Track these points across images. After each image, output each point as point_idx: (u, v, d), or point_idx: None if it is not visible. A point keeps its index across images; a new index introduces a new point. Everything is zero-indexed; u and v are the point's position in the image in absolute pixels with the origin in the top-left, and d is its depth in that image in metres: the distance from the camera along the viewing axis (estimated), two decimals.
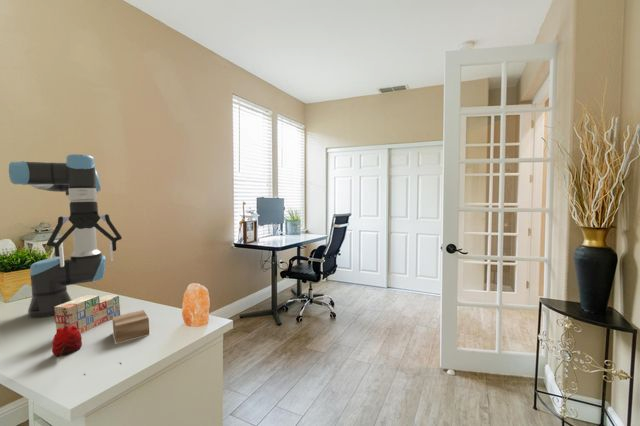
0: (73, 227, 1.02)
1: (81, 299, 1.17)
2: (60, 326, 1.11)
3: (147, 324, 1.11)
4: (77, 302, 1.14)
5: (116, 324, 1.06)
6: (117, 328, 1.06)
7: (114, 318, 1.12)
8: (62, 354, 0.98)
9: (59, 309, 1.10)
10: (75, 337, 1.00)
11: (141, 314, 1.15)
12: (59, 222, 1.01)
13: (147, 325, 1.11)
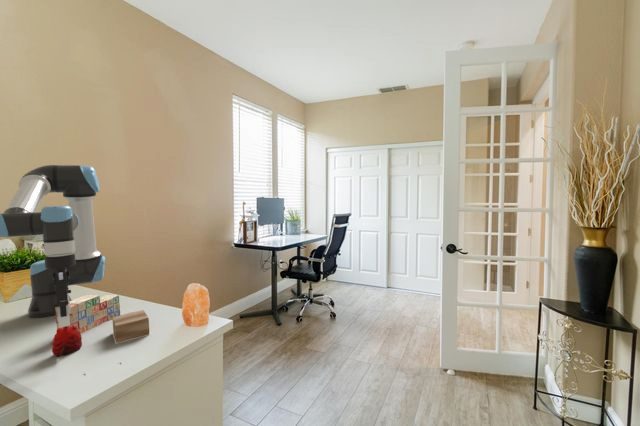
0: None
1: (82, 299, 1.17)
2: None
3: (147, 324, 1.11)
4: (78, 302, 1.14)
5: (116, 324, 1.06)
6: (117, 328, 1.06)
7: (114, 318, 1.12)
8: (62, 354, 0.98)
9: None
10: (75, 337, 1.00)
11: (141, 314, 1.15)
12: None
13: (147, 325, 1.11)
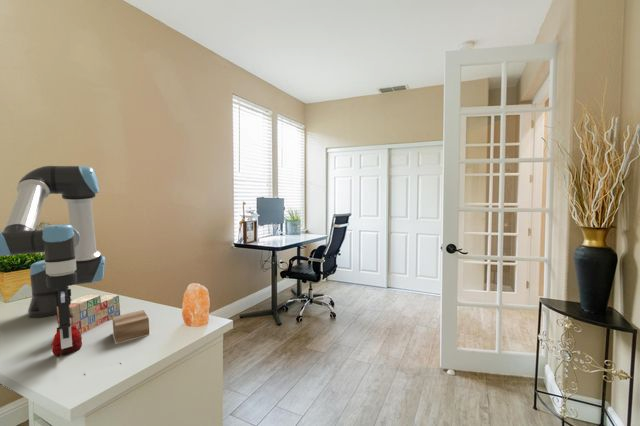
0: None
1: (83, 299, 1.18)
2: None
3: (147, 324, 1.11)
4: (79, 302, 1.14)
5: (116, 324, 1.06)
6: (117, 328, 1.06)
7: (114, 318, 1.12)
8: (62, 354, 0.98)
9: None
10: (75, 336, 1.00)
11: (141, 314, 1.15)
12: None
13: (147, 325, 1.11)
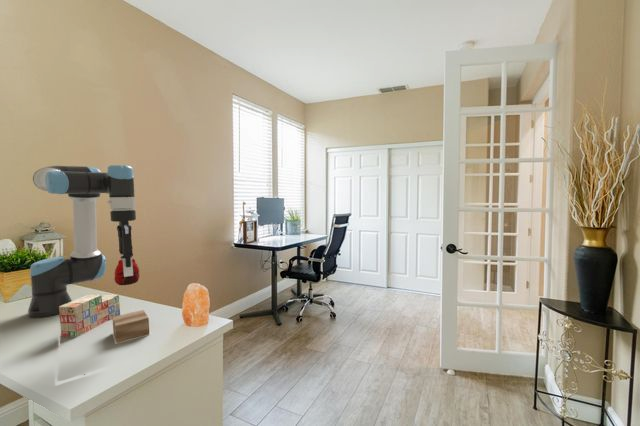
0: (118, 235, 1.11)
1: (84, 299, 1.18)
2: (65, 326, 1.11)
3: (147, 324, 1.11)
4: (82, 301, 1.15)
5: (116, 324, 1.06)
6: (117, 328, 1.06)
7: (114, 318, 1.12)
8: (124, 282, 1.08)
9: (64, 309, 1.11)
10: (134, 268, 1.10)
11: (141, 314, 1.15)
12: None
13: (147, 325, 1.11)
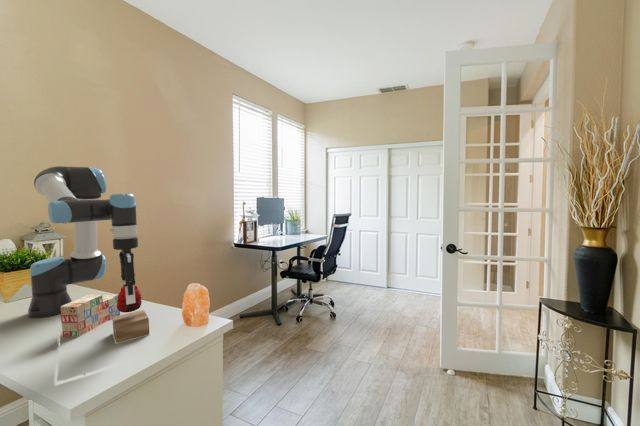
0: (120, 262, 1.12)
1: (85, 298, 1.18)
2: (67, 325, 1.11)
3: (147, 324, 1.11)
4: (83, 301, 1.15)
5: (116, 324, 1.06)
6: (117, 328, 1.06)
7: (114, 318, 1.12)
8: (127, 309, 1.09)
9: (66, 308, 1.11)
10: (137, 295, 1.11)
11: (141, 314, 1.15)
12: None
13: (147, 325, 1.11)
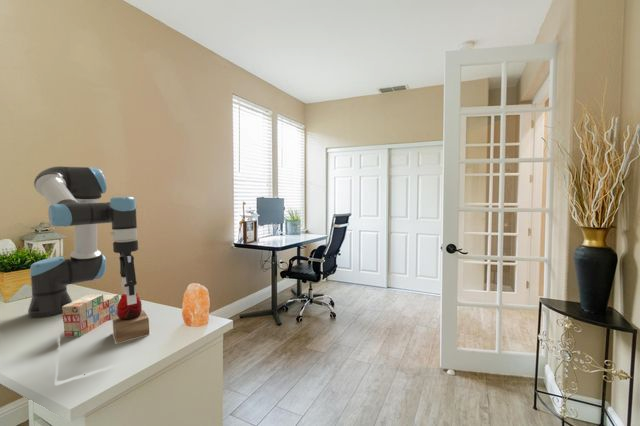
0: (120, 263, 1.12)
1: (86, 298, 1.18)
2: (69, 325, 1.11)
3: (147, 324, 1.11)
4: (85, 301, 1.15)
5: (116, 324, 1.06)
6: (117, 328, 1.06)
7: (114, 318, 1.12)
8: (127, 317, 1.09)
9: (68, 308, 1.11)
10: (137, 302, 1.12)
11: (141, 314, 1.15)
12: (120, 256, 1.15)
13: (147, 325, 1.11)
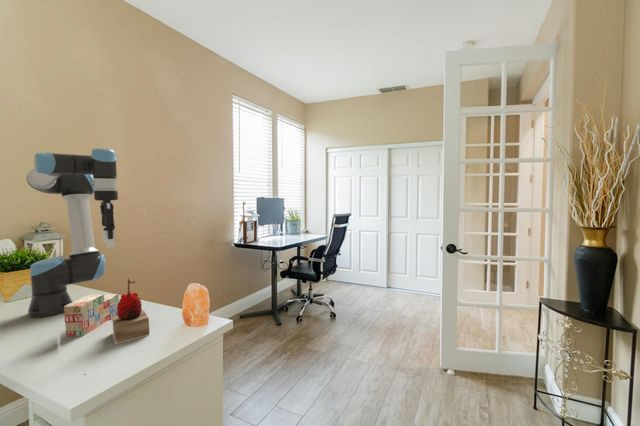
0: (101, 211, 1.21)
1: (87, 298, 1.18)
2: (71, 325, 1.11)
3: (147, 324, 1.11)
4: (86, 301, 1.15)
5: (116, 324, 1.06)
6: (117, 328, 1.06)
7: (114, 318, 1.12)
8: (127, 317, 1.09)
9: (70, 308, 1.11)
10: (137, 302, 1.12)
11: (141, 314, 1.15)
12: None
13: (147, 325, 1.11)
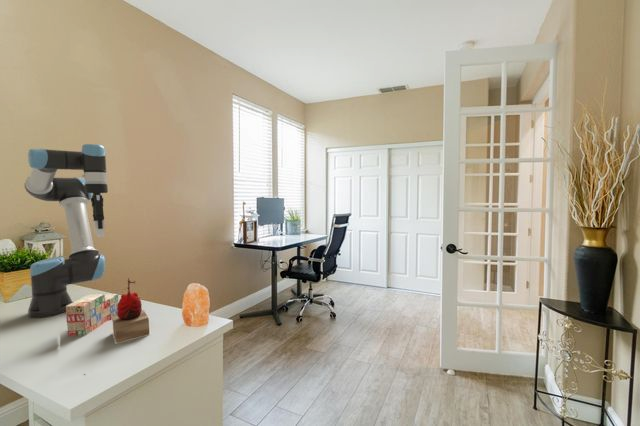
0: None
1: (88, 298, 1.18)
2: (73, 325, 1.11)
3: (147, 324, 1.11)
4: (88, 300, 1.16)
5: (116, 324, 1.06)
6: (117, 328, 1.06)
7: (114, 318, 1.12)
8: (127, 317, 1.09)
9: (72, 308, 1.11)
10: (137, 302, 1.12)
11: (141, 314, 1.15)
12: None
13: (147, 325, 1.11)
